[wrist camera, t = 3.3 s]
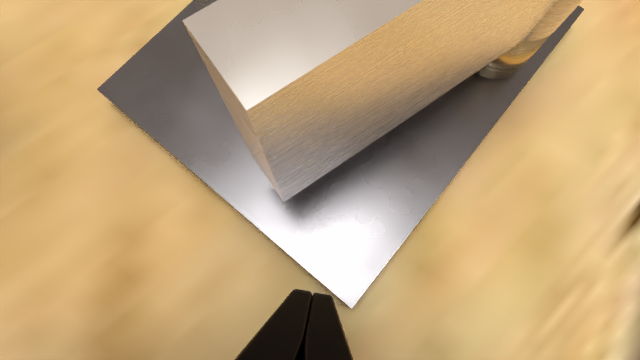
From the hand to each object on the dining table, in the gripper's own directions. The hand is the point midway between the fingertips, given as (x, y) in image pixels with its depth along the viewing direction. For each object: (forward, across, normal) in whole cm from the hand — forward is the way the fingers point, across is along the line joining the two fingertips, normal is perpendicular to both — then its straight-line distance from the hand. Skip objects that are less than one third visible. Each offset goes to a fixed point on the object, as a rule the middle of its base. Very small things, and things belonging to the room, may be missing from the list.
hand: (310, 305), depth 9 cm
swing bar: (+8, -2, -3) cm, 9 cm away
